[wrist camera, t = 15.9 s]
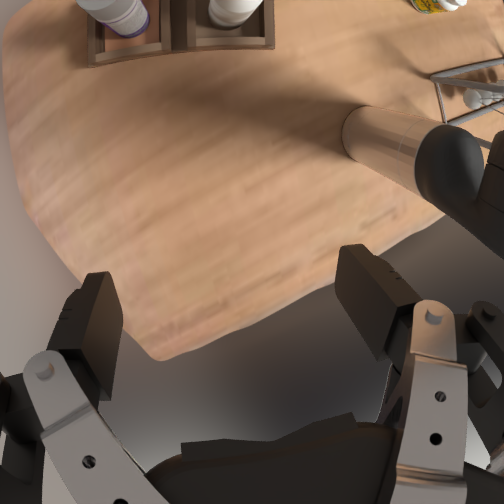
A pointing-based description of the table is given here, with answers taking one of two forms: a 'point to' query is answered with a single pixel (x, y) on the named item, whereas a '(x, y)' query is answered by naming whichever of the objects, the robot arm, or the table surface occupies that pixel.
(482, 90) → the newton's cradle
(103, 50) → the wooden divided tray
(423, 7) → the supplement bottle
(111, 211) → the table surface
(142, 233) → the table surface
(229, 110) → the table surface
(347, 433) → the robot arm
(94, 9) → the container
